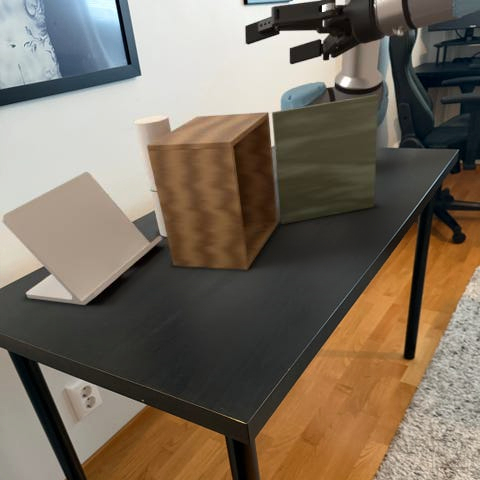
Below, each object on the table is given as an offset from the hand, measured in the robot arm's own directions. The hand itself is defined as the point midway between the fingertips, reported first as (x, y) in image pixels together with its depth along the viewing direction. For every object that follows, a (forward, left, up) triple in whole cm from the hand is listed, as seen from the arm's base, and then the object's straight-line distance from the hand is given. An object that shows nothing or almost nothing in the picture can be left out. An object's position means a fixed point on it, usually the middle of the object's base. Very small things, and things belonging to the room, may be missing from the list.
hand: (269, 46), depth 86 cm
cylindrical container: (+11, -24, -36) cm, 44 cm away
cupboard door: (-12, +3, -35) cm, 38 cm away
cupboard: (+11, -7, -36) cm, 38 cm away
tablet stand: (+33, -24, -36) cm, 54 cm away
